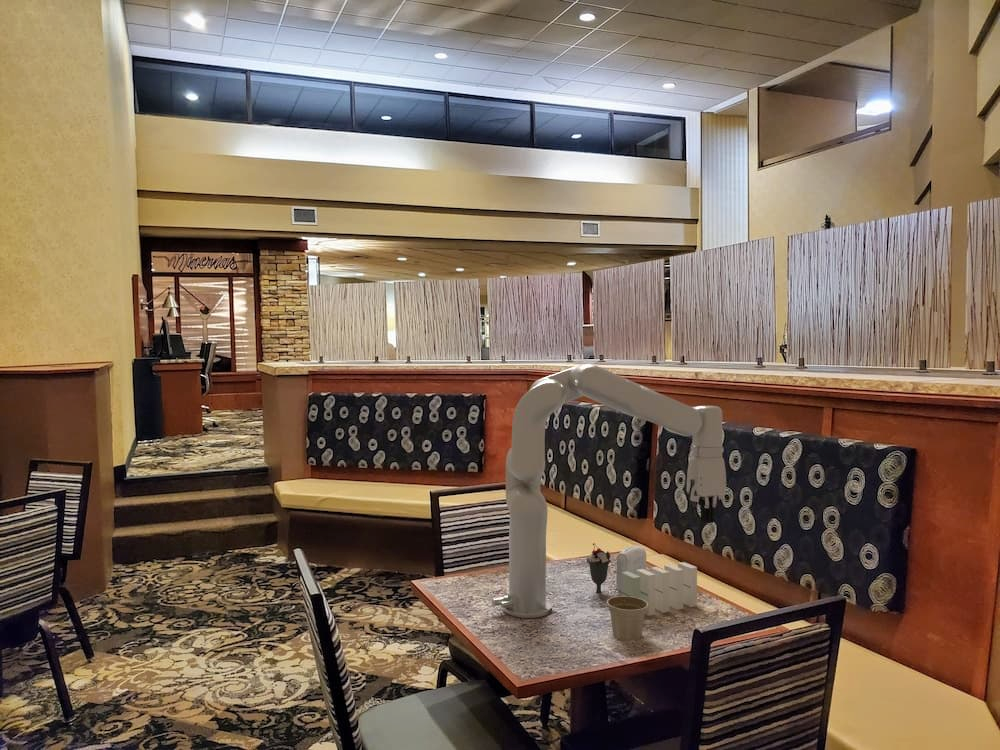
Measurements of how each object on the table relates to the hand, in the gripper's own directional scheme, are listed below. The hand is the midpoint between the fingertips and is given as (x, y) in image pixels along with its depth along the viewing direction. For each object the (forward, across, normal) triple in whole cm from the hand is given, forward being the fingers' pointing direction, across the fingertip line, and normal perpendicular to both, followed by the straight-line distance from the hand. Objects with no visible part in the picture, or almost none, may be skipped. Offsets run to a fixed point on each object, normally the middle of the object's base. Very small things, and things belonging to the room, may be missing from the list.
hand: (707, 521), depth 178 cm
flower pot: (+22, +33, +10) cm, 41 cm away
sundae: (+22, +23, -17) cm, 36 cm away
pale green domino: (+20, +25, 0) cm, 32 cm away
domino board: (+22, +16, 0) cm, 27 cm away
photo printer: (+22, +12, -17) cm, 30 cm away
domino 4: (+21, +7, 0) cm, 22 cm away
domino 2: (+20, +16, 0) cm, 26 cm away
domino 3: (+20, +11, 0) cm, 23 cm away
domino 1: (+20, +20, 0) cm, 29 cm away
